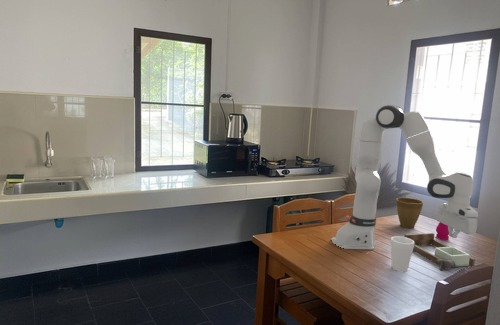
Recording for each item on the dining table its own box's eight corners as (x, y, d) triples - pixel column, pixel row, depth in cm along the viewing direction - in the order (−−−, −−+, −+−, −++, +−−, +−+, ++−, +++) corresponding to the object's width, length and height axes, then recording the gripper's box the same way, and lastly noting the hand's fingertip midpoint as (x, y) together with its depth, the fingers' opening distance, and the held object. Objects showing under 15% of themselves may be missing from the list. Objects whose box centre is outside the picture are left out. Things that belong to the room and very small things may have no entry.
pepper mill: (446, 236, 210) (450, 202, 207) (451, 241, 202) (456, 205, 199) (432, 235, 210) (437, 201, 207) (437, 240, 203) (442, 204, 200)
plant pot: (422, 225, 228) (425, 200, 226) (418, 232, 216) (421, 205, 213) (396, 220, 236) (399, 196, 234) (391, 226, 223) (394, 200, 221)
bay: (439, 272, 162) (440, 259, 161) (394, 245, 191) (396, 234, 190) (480, 268, 168) (482, 256, 167) (431, 243, 197) (432, 232, 196)
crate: (450, 267, 167) (451, 256, 166) (434, 258, 177) (435, 247, 176) (468, 265, 170) (470, 254, 169) (451, 256, 179) (453, 246, 179)
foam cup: (392, 262, 170) (395, 234, 169) (413, 268, 165) (417, 240, 163) (385, 268, 163) (388, 240, 161) (406, 275, 157) (410, 245, 155)
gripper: (435, 201, 179) (430, 229, 181) (469, 214, 159) (464, 245, 161) (446, 201, 180) (441, 229, 182) (481, 214, 161) (476, 245, 163)
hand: (452, 237), depth 172 cm, fingers closed
